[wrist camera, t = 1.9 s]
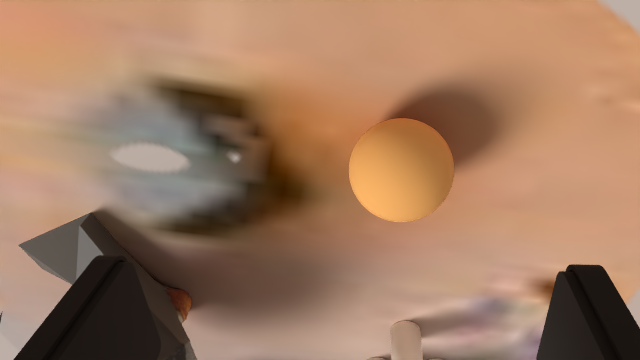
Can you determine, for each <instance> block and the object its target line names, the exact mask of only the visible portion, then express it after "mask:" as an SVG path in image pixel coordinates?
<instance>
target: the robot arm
mask: <svg viewBox="0 0 640 360" xmlns="http://www.w3.org/2000/svg"><path fill="white" fill-rule="evenodd" d="M160 350H161V340H160V336H159V334H158V331H157V328H156V325H155V323H154V320H153V317H152V314H151V312H150V309H149V306H148V303H147V300H146V298H145V295H144V292H143V289H142V287H141V284H140V281H139V278H138V276H137V273H136V270H135V267H134V265H133V264H132V263H131V262H128V261H127V259H126V258H125V257H124V256H114V255H99V256H96V257H95V258H94V259H93V260H92V261H91V262H90V264H89V265H88V266H87V267H86V269H85V270H84V271H83V272H82V274H81V275H80V276H79V278H78V279H77V280H76V281H75V283H74V284H73V285H72V286H71V288H70V289H69V290H68V291H67V293H66V294H65V295H64V296H63V298H62V299H61V300H60V302H59V303H58V304H57V305H56V307H55V308H54V309H53V310H52V312H51V313H50V314H49V315H48V317H47V318H46V319H45V320H44V322H43V323H42V324H41V326H40V327H39V328H38V329H37V331H36V332H35V333H34V334H33V336H32V337H31V338H30V339H29V341H28V342H27V343H26V345H25V346H24V347H23V348H22V350H21V351H20V352H19V353H18V355H17V356H16V357H15V358H14V360H157V359H158V357H159V354H160ZM537 360H640V328H639V326H638V325H637V323H636V321H635V320H634V318H633V316H632V315H631V313H630V311H629V309H628V308H627V306H626V304H625V303H624V301H623V299H622V298H621V296H620V294H619V293H618V291H617V289H616V287H615V286H614V284H613V282H612V281H611V279H610V277H609V276H608V274H607V272H606V271H605V269H604V268H603V267H602V266H600V265H569V266H568V267H567V269H566V272H563V271H561V272H559V273H558V274H557V277H556V281H555V285H554V289H553V293H552V297H551V301H550V305H549V309H548V313H547V317H546V321H545V326H544V330H543V334H542V338H541V342H540V346H539V350H538V354H537Z"/></svg>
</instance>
